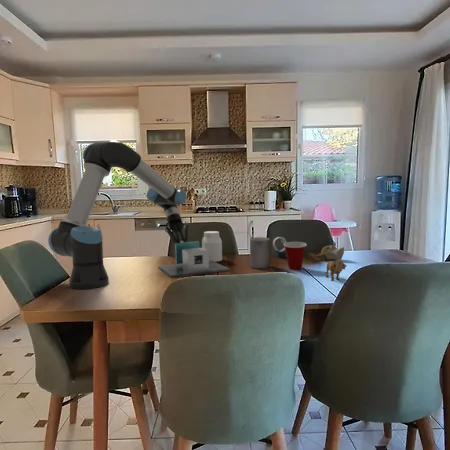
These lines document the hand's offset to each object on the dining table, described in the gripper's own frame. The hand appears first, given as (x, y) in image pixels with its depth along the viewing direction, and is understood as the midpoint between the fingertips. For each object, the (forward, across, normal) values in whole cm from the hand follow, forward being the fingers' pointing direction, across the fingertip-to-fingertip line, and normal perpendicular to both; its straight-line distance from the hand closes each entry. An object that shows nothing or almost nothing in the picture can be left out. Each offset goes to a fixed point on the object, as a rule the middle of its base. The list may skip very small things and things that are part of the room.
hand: (184, 252), depth 186 cm
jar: (+2, -17, -7) cm, 18 cm away
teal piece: (+11, 0, +5) cm, 12 cm away
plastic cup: (+29, -43, +20) cm, 56 cm away
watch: (+10, -53, 0) cm, 54 cm away
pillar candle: (+21, -31, +12) cm, 39 cm away
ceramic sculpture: (+23, -71, +14) cm, 76 cm away
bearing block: (+13, 0, +5) cm, 14 cm away
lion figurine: (+46, -46, +37) cm, 74 cm away
